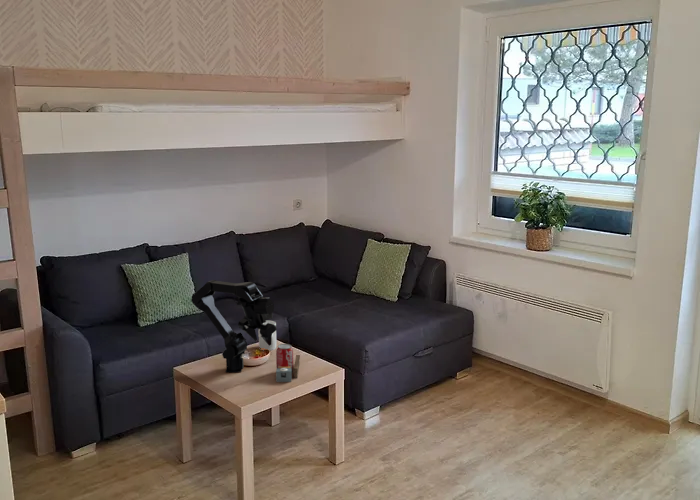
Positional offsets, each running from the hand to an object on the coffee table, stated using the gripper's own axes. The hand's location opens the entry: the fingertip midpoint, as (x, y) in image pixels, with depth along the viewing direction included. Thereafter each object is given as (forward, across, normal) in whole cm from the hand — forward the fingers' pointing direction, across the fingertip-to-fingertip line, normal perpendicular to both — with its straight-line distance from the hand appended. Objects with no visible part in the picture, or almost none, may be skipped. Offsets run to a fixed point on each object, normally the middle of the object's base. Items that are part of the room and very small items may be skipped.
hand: (263, 342), depth 276 cm
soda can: (+13, -10, +1) cm, 16 cm away
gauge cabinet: (+11, -14, +6) cm, 19 cm away
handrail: (+14, -11, -4) cm, 19 cm away
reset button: (+10, -14, +4) cm, 17 cm away
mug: (+17, +17, -12) cm, 27 cm away
